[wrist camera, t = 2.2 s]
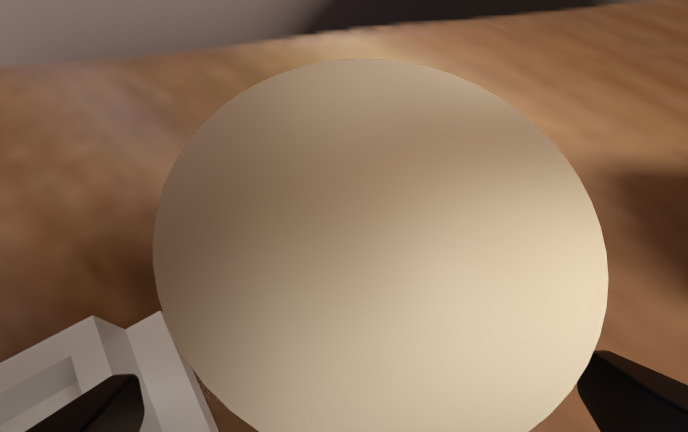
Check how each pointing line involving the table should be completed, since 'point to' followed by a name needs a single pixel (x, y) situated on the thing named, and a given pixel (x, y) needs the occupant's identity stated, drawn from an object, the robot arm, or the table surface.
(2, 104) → the table surface
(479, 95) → the disc
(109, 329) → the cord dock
